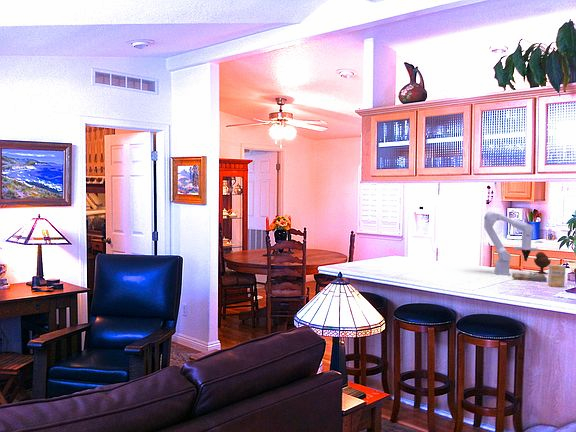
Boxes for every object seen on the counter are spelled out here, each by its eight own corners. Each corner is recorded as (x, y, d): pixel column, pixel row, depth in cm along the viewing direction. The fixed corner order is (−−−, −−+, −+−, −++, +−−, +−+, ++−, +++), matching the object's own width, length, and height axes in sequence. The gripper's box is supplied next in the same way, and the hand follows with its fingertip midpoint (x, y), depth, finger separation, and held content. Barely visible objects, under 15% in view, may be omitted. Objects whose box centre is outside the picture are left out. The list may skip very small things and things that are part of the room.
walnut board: (514, 279, 368) (514, 276, 368) (512, 276, 382) (512, 273, 381) (530, 280, 365) (530, 277, 365) (528, 277, 379) (528, 274, 379)
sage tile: (528, 275, 370) (531, 272, 369) (527, 274, 374) (530, 271, 373) (533, 279, 369) (536, 276, 369) (532, 278, 373) (535, 275, 373)
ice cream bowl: (548, 275, 389) (549, 253, 388) (531, 273, 396) (532, 252, 395) (551, 273, 397) (553, 252, 396) (535, 271, 404) (536, 250, 403)
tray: (531, 280, 365) (531, 277, 365) (528, 277, 379) (528, 273, 379) (546, 281, 362) (546, 278, 362) (543, 278, 376) (543, 274, 376)
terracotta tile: (536, 279, 369) (536, 275, 369) (535, 278, 373) (535, 274, 373) (542, 279, 368) (542, 275, 368) (541, 278, 372) (542, 274, 372)
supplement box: (550, 286, 346) (551, 265, 345) (547, 285, 351) (549, 264, 350) (564, 287, 345) (565, 265, 344) (561, 285, 350) (563, 264, 349)
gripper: (515, 241, 386) (514, 261, 387) (538, 242, 382) (537, 262, 383) (514, 240, 393) (513, 259, 394) (537, 241, 389) (536, 261, 390)
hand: (525, 261), depth 389 cm, fingers closed
